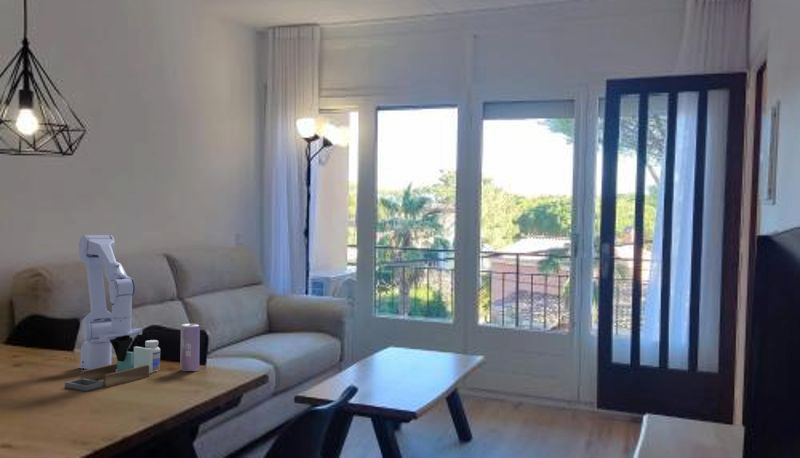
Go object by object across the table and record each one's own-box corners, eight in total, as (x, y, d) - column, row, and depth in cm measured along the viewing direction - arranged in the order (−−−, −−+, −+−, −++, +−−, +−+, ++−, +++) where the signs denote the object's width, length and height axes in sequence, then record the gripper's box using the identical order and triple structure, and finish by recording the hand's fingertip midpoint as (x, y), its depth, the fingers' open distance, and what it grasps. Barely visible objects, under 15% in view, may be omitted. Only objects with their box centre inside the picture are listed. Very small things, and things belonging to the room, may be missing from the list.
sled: (115, 375, 208) (116, 350, 208) (136, 370, 215) (136, 346, 215) (132, 377, 205) (132, 353, 205) (152, 372, 212) (152, 348, 212)
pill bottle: (138, 371, 215) (138, 341, 215) (152, 368, 220) (152, 338, 219) (149, 373, 212) (150, 343, 212) (163, 370, 217) (163, 340, 217)
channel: (80, 382, 199) (80, 371, 199) (124, 372, 213) (124, 361, 213) (106, 387, 194) (106, 375, 194) (148, 376, 208) (149, 365, 208)
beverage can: (202, 368, 220) (202, 323, 220) (194, 372, 215) (195, 326, 214) (184, 367, 221) (185, 323, 221) (177, 371, 215) (177, 325, 215)
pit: (64, 387, 193) (64, 382, 193) (82, 383, 198) (82, 378, 198) (85, 391, 189) (86, 386, 189) (103, 387, 194) (103, 382, 194)
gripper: (110, 321, 197) (110, 366, 197) (149, 315, 210) (148, 358, 210) (94, 319, 200) (94, 364, 200) (133, 313, 213) (132, 355, 213)
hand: (120, 360), depth 205 cm, fingers closed
